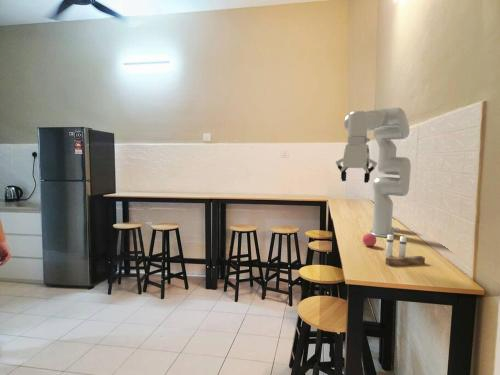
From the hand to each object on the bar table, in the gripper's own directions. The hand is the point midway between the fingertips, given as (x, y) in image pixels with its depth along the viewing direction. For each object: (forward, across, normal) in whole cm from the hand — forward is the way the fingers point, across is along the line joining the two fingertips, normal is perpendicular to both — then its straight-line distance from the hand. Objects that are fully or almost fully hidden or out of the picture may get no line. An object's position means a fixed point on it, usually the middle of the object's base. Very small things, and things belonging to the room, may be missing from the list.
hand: (354, 181), depth 134 cm
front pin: (+31, -14, -7) cm, 35 cm away
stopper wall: (+31, -22, -1) cm, 38 cm away
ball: (+28, -2, -17) cm, 33 cm away
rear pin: (+31, -19, -8) cm, 37 cm away
